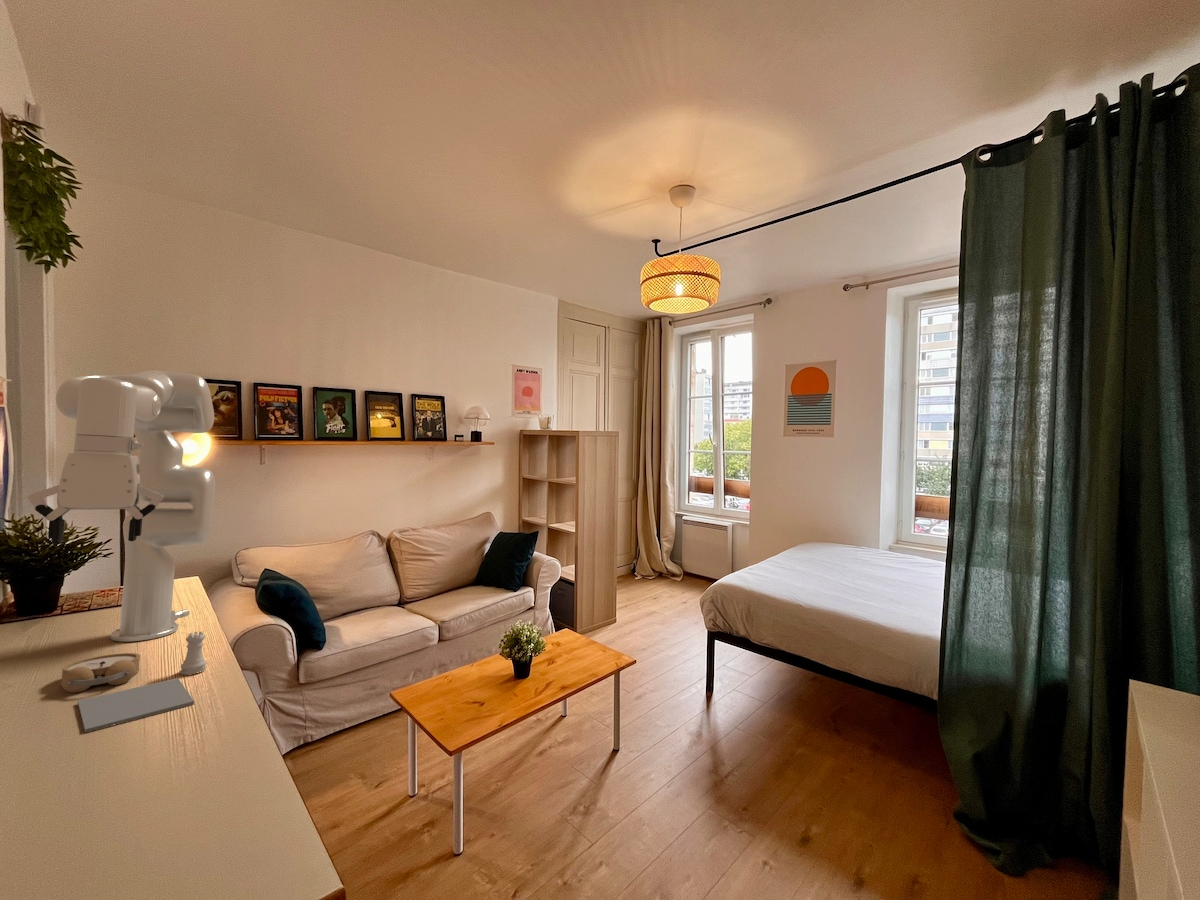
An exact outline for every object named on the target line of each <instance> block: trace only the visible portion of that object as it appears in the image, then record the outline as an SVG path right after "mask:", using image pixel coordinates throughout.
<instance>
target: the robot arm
mask: <svg viewBox="0 0 1200 900" xmlns="http://www.w3.org/2000/svg"><path fill="white" fill-rule="evenodd" d="M55 404H56V406H57V407H56V408H57V409H58V411H59V412H60V413H61V414H62V415H63V416H65V417H67V418H70V419H72V420H73V419H74V420H76V421H75V430H74V431H75V433H74V434H75V435H74V442H73V444H74V445H73V453H71V452H70V453H69V452H68V453H67V456H66V458H65V461H64V464H63V467H62V470H61V471H62V472H61V475H60V479H59V484H57V485H55V486H52V487H48V488H45V489H43V490H40V491H39V490H38V491H37V492H34V493H31V494H29V495H28V496H27V499H28V500H29V502H30V503H31V505H32V506H33V507H34V510H35V512H38V513H39V514H40V515H42V516H43V517H44V518H45V519H46V521H49V522H48V533H47V539H48V540H49V539H50V540H51V544H52V545H57V544H59V543H62V542H63V541H64V538H65V537H64V536H65V527H66V525H65V524H66V520H65V519H64V518H63V516H64V515H66V514H67V513H68V512H69V511H71V510H73V511H74V510H78V511H79V510H80V511H81V510H88V511H89V510H90V511H92V510H125V511H126V512H127V513H129V514H127V515H126V517H125V518H124V521H123V522H122V523H123V524H122V530H123V531H122V533H123V541H124V552H125V554H124V555H125V556H124V557H125V561H124V572H123V574H124V575H123V585H122V586H123V587H122V599H121V610H120V622H119V623H120V625H119V628H118V629H115V630H113V631H112V632H111V633H110V639H111V640H112V641H114V642H125V643H126V642H139V641H148V640H154V639H157V638H162V637H165V636H169V635H171V634H173V633H175V632H176V631H177V630H178V628H179V624H178V623H177V622H176V621H178V619H181V618H185V617H188V616H189V615H190V610H189V609H187V608H186V609H182V610H179V611H176V610H172V609H173V599H174V598H173V594H174V586H175V585H174V582H175V570H176V562H175V559H174V557H173V556H172V555H171V553H170V552H169V551H168V550H167V549H166V547H169V546H171V547H172V546H193V545H194V546H195V545H202V544H204V543H207V542H208V541H209V540H210V538H211V536H212V532H213V527H214V526H213V523H214V514H215V513H214V511H215V500H216V478H215V475H214V473H213V471H211V470H210V469H208V468H204V467H188V466H187V467H185V466H183V456H184V448H183V446H182V445H181V443H180V441H179V440H178V439H177V438H176V437H175V436H174V435H173V434H172V433H173V432H174V433H189V434H190V433H192V434H202V433H207V432H209V431H211V429H212V428H213V425H214V421H215V410H214V405H213V400H212V394H211V390H210V387H209V384H208V383H207V381H206V380H205V379H204V378H203V377H202V376H200V375H197V374H193V373H183V372H175V371H165V370H156V369H155V370H153V369H150V370H143V371H139V372H137V373H134V374H130V373H129V374H109V375H107V374H106V375H105V374H103V375H101V374H100V375H98V374H97V375H81V376H80V375H79V376H74V377H71V378H68V379H66V380H65V381H63V382H62V384H61V385H60V386H59V387H58V389H57V390H56V395H55ZM171 432H172V433H171ZM135 438H136V440H135ZM135 450H136V451H137V450H139V455H133V453H134V451H135ZM53 495H57V498H56V503H57V504H56V505H57V507H56V508H55V509H53V508H52V507H51V506H49V505H48V504H47V503H46V502H45V498H48V497H51V496H53ZM139 501H141V502H144V503H147V506H144V507H143V508H140V507H139V505H138V504H139ZM160 504H190V505H191V506H192V508H173V507H172V508H171V507H169V508H168V507H167V508H162V507H161V508H160V507H159V508H157V507H158V505H160Z"/></svg>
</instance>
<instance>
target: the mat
mask: <svg viewBox="0 0 1200 900" xmlns="http://www.w3.org/2000/svg"><path fill="white" fill-rule="evenodd" d="M192 705H193V706H194V705H195V700H194V699H193V697H192V696H191V694H190V693H189V691H188V690H187V689H186V687H185V686H184V684H183V683H182V682H181V681H180V678H178V677H176V678H172V679H167V680H163V681H158V682H153V683H149V684H146V685H141V686H136V687H133V688H128V689H125V690H124V689H123V690H119V691H116V692H111V693H106V694H102V695H97V696H93V697H88V698H84V699H80V700H77V707H78V706H79V708H78V711H79V710H80V712H79V715H80V714H81V716H80V719H82V720H81V723H82V722H83V723H82V726H83V727H82V728H83V731H84V733H85V734H87V733H90V732H94V731H93V730H95V731H99V730H102V729H101V728H103V729H105V728H104V727H106V728H108V727H107V726H110V727H112V726H111V725H113V724H118V723H122V722H125V723H128V722H127V721H129V722H132V721H131V720H133V721H135V720H136V719H137V720H140V719H144V718H148V717H151V716H155V715H158V714H162V713H166V712H170V711H174V710H178V709H183V708H186V707H189V706H192ZM143 717H144V718H143ZM122 724H123V723H122ZM118 725H119V724H118ZM98 729H99V730H98ZM86 732H87V733H86Z"/></svg>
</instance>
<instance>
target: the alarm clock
mask: <svg viewBox="0 0 1200 900" xmlns="http://www.w3.org/2000/svg"><path fill="white" fill-rule="evenodd" d="M140 661H141V655H140V653H136V652H122V653H112V654H104V655H100V656H99V655H98V656H92V657H89V658H84V659H80V660H78V661H73V662H71V663H68V664H66V665H64V666H63V667H62V669H61V670H62V672H61V673H62V674H61V681H60V686H61V687H62V689H63V690H64V691H65V692H67V693H70V694H71V693H73V694H75V693H76V692H77V693H81V692H84V691H86V690H88V689H89V688H90V687H91V686H98V685H103V684H108V685H109V686H119V685H122V684H125V683H127V682H129V681H130V680H131V679H132V678H133V677H134V675H136V674H138V673H139V671H140Z"/></svg>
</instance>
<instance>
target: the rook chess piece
mask: <svg viewBox="0 0 1200 900" xmlns="http://www.w3.org/2000/svg"><path fill="white" fill-rule="evenodd" d="M205 638H206V635H205V634H204V632H203V631H199V632H198V631H194V633H193V632H191V633H189V634H188V635H187V638H186V639H185V641H186V642H187V643H188V644H187V645H186V648H187V652H186V656H185V659H184V660H183V663H182V664H181V665H180V670H179V673H180V675H182V676H190V675H189V674H194V673H197V672H200V671H203V670H204V671H205V670H206V669H207V660H205V657H204V655H203V646H204V643H203V640H205ZM204 671H203V672H204Z"/></svg>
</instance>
